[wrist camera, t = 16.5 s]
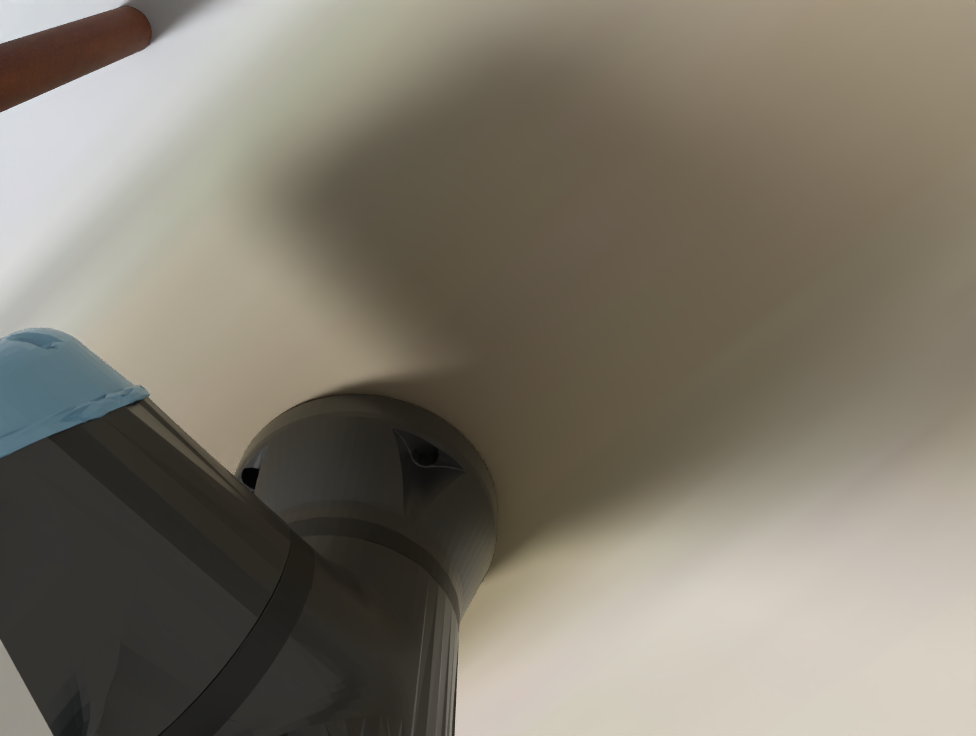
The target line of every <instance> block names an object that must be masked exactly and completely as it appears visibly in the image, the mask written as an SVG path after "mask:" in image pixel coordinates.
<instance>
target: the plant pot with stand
mask: <svg viewBox="0 0 976 736" xmlns="http://www.w3.org/2000/svg"><path fill="white" fill-rule="evenodd" d="M150 40H151V27H150V24H149V22H148V20H147V18H146V17H145V16H144V15H143V14H142V13H141V12H140V11H138V10H137V9H135V8H132V7H128V6H127V7H119V8H116V9H113V10H110V11H106V12H103V13H100V14H96V15H93V16H90V17H87V18H83V19H80V20H77V21H74V22H70V23H67V24H64V25H61V26H57V27H54V28H51V29H47V30H44V31H41V32H38V33H34V34H31V35H28V36H25V37H21V38H18V39H15V40H12V41H8V42H5V43H2V44H0V112H2V111H5V110H7V109H9V108H12V107H14V106H16V105H18V104H21V103H23V102H25V101H27V100H30V99H32V98H34V97H36V96H39V95H41V94H43V93H46V92H48V91H50V90H52V89H55V88H57V87H59V86H61V85H64V84H66V83H68V82H71V81H73V80H75V79H77V78H80V77H82V76H84V75H86V74H89V73H91V72H93V71H95V70H98V69H100V68H102V67H105V66H107V65H109V64H111V63H114V62H116V61H118V60H120V59H123V58H125V57H127V56H129V55H132V54H134V53H136V52H139V51H141V50H143V49H145V47H146V46H147V45H148V44H149V42H150Z"/></svg>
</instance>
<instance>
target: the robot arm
mask: <svg viewBox="0 0 976 736" xmlns="http://www.w3.org/2000/svg"><path fill="white" fill-rule="evenodd" d="M149 395H150V394H149V393H148V391H147V390H146V389H145V388H143V387H142V386H141V385H140V386H134V385H133V384H132V383H131V382H129V381H128V380H127V379H126V378H124V377H123V376H122V375H121V374H119V373H118V372H117V371H116V370H114V369H113V368H112V367H111V366H109V365H108V364H107V363H106V362H104V361H103V360H102V359H100V358H99V357H98V356H97V355H95V354H94V353H93V352H92V351H90V350H89V349H88V348H87V347H86V346H84V345H83V344H82V343H81V342H80V341H78V340H77V339H76V338H74V337H72V336H71V335H69V334H66V333H64V332H62V331H59V330H55V329H49V328H29V329H24V330H20V331H17V332H14V333H12V334H9V335H7V336H5V337H3V338H1V339H0V736H454V734H455V711H456V688H457V666H458V643H459V623H460V620H461V619H462V617H463V615H464V613H465V611H466V610H467V608H468V606H469V604H470V603H471V601H472V599H473V597H474V595H475V593H476V592H477V590H478V588H479V586H480V584H481V582H482V581H483V579H484V577H485V575H486V573H487V572H488V569H489V567H490V564H491V561H492V558H493V555H494V551H495V546H496V539H497V497H496V492H495V488H494V484H493V481H492V478H491V475H490V473H489V471H488V469H487V467H486V465H485V463H484V461H483V460H482V458H481V457H480V455H479V454H478V452H477V451H476V450H475V448H474V447H473V446H472V445H471V444H470V443H469V441H468V440H467V439H466V438H465V437H464V436H463V435H462V434H461V433H459V432H458V431H457V430H456V429H455V428H453V427H452V426H451V425H449V424H448V423H447V422H445V421H444V420H442V419H441V418H439V417H437V416H436V415H434V414H432V413H430V412H428V411H426V410H424V409H422V408H419V407H417V406H415V405H412V404H409V403H406V402H403V401H399V400H396V399H391V398H387V397H381V396H374V395H357V394H353V395H338V396H331V397H325V398H321V399H317V400H313V401H310V402H307V403H304V404H302V405H299V406H297V407H294V408H292V409H290V410H288V411H286V412H285V413H283V414H281V415H280V416H278V417H277V418H275V419H274V420H273V421H271V422H270V423H269V424H268V425H267V426H265V427H264V428H263V429H262V430H261V431H260V432H259V433H258V434H257V435H256V437H255V438H254V439H253V440H252V442H251V443H250V445H249V446H248V447H247V449H246V451H245V453H244V455H243V457H242V459H241V461H240V463H239V465H238V467H237V470H236V472H235V474H234V476H233V475H232V474H231V473H230V472H229V471H228V470H227V469H226V468H225V467H223V466H222V465H221V464H220V463H219V462H218V461H217V460H216V459H215V458H213V457H212V456H211V455H210V454H209V453H208V452H207V451H206V450H205V449H203V448H202V447H201V446H200V445H199V444H198V443H197V442H196V441H194V440H193V439H192V438H191V437H190V436H189V435H188V434H187V433H186V432H185V431H184V430H182V429H181V428H180V427H179V426H178V425H177V424H176V423H175V422H174V421H173V420H172V419H171V418H170V417H169V416H168V415H166V414H165V413H164V412H163V411H162V410H161V409H160V408H159V407H158V406H157V405H156V404H155V403H154V402H153V401H152V400H150V399H149V398H148V396H149Z"/></svg>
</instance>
